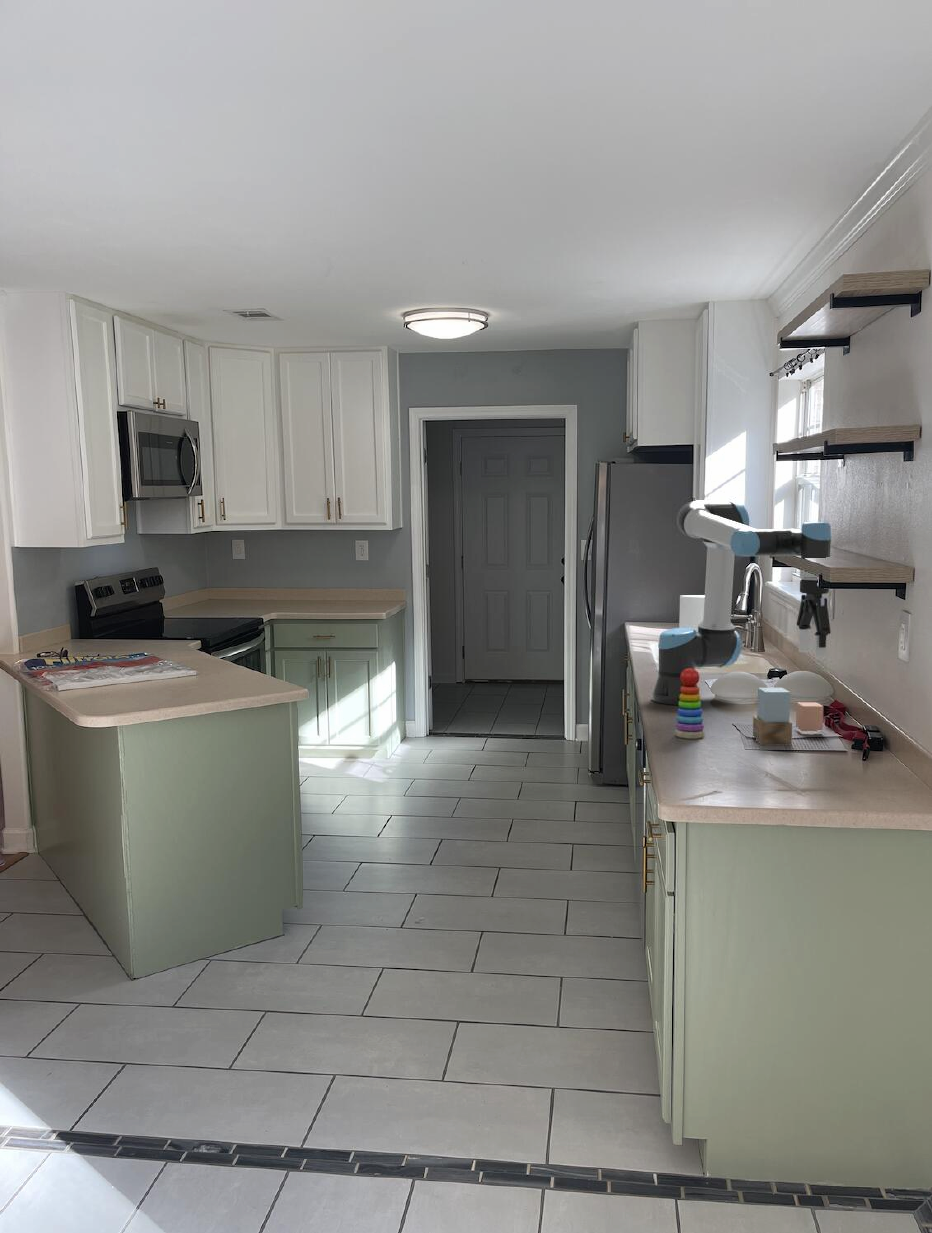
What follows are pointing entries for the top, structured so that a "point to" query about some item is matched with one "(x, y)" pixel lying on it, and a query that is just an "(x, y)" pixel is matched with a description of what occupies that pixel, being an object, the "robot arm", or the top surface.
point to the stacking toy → (689, 707)
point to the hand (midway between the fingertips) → (812, 655)
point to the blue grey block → (773, 704)
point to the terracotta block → (809, 716)
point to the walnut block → (772, 732)
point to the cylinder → (691, 612)
